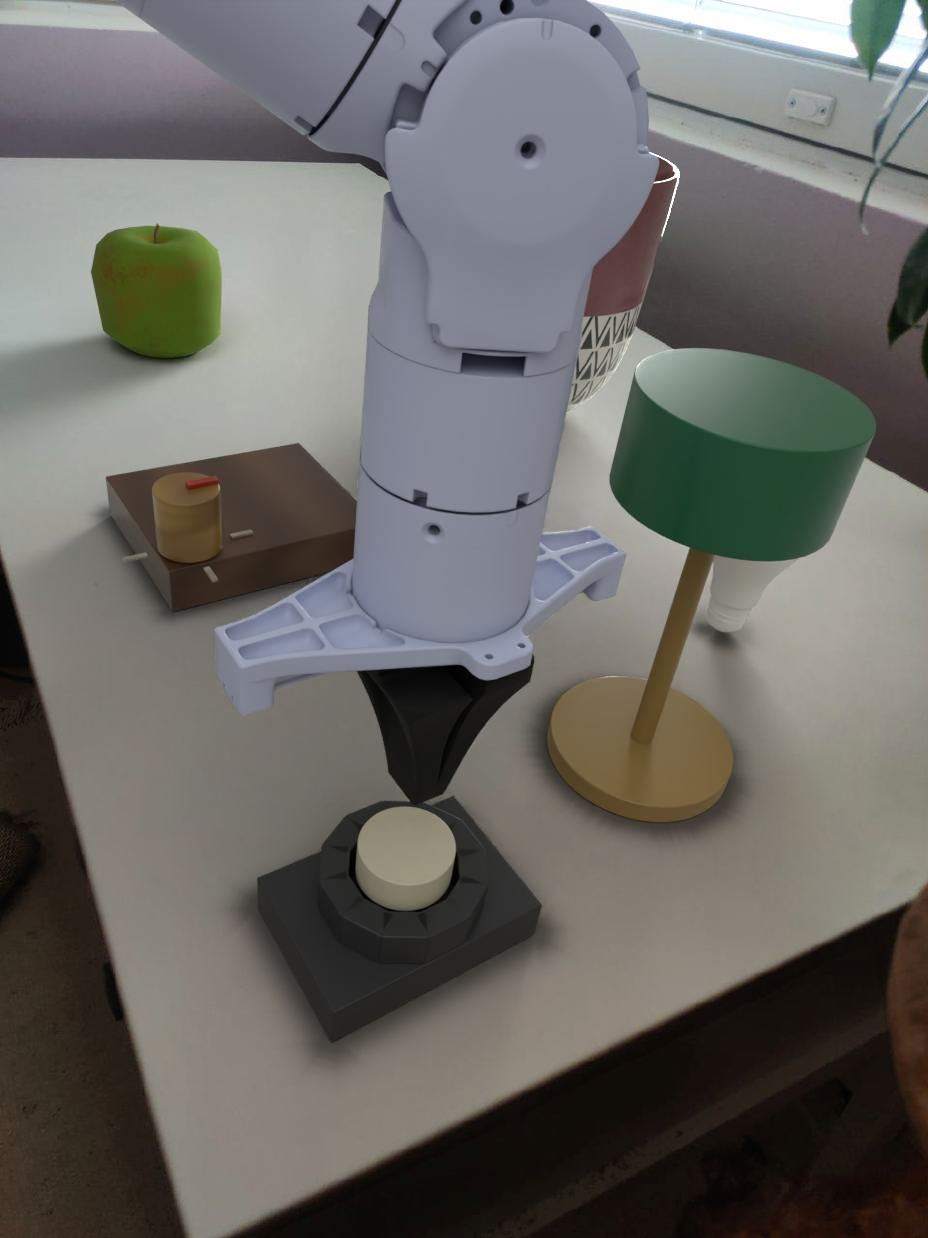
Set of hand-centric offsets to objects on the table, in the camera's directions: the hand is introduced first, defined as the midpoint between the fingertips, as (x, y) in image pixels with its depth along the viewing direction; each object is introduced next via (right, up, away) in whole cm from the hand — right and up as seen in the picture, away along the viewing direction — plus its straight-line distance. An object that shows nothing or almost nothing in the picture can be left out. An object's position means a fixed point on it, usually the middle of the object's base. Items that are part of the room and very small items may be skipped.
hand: (415, 782), depth 36 cm
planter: (+6, +26, +50) cm, 57 cm away
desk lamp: (+11, -1, +16) cm, 19 cm away
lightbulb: (+19, +5, +26) cm, 33 cm away
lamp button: (-1, -4, +3) cm, 5 cm away
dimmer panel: (-13, +11, +27) cm, 32 cm away
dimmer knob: (-15, +11, +21) cm, 28 cm away
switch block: (-1, -7, +5) cm, 9 cm away
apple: (-26, +32, +52) cm, 66 cm away
